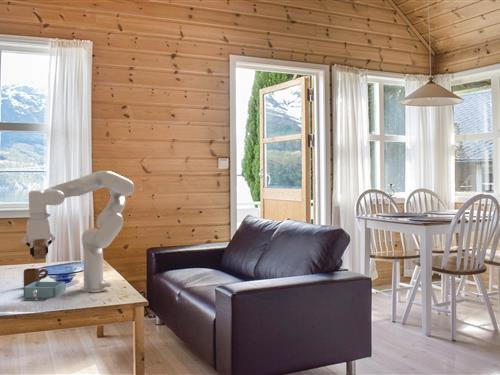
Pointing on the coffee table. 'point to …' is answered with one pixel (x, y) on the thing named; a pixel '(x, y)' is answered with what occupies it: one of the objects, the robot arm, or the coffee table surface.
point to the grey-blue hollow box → (34, 297)
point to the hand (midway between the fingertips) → (39, 255)
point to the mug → (33, 275)
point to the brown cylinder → (39, 249)
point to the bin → (45, 289)
